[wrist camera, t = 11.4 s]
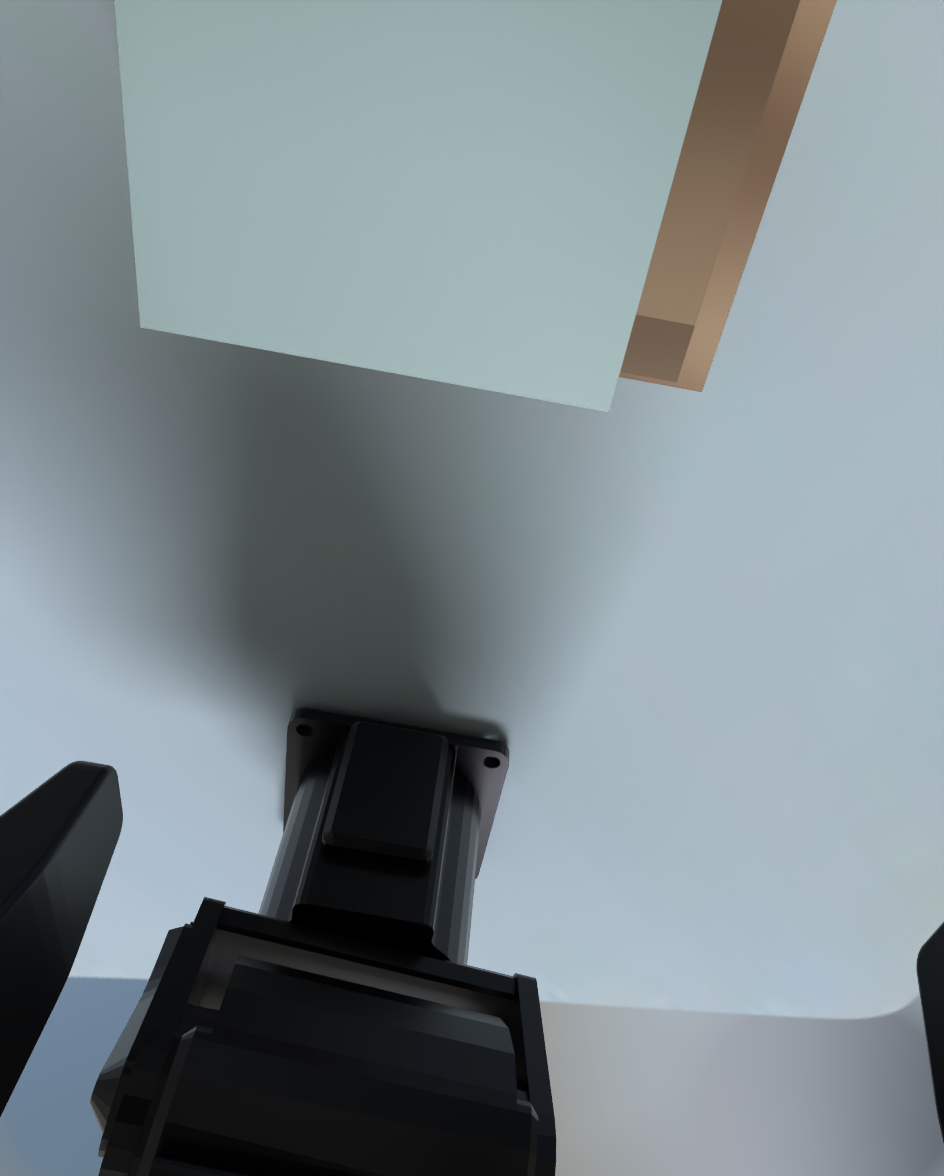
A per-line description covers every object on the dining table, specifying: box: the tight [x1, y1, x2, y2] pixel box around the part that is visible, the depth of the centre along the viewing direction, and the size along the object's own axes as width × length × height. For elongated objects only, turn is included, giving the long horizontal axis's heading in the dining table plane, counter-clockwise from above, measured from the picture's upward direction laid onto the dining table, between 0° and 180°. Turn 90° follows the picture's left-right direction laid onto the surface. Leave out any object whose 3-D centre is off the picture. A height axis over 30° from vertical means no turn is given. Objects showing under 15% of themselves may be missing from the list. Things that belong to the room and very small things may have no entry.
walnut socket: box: [619, 0, 837, 392], centre depth 13 cm, size 11×11×4 cm
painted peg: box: [114, 0, 722, 412], centre depth 11 cm, size 5×5×9 cm
